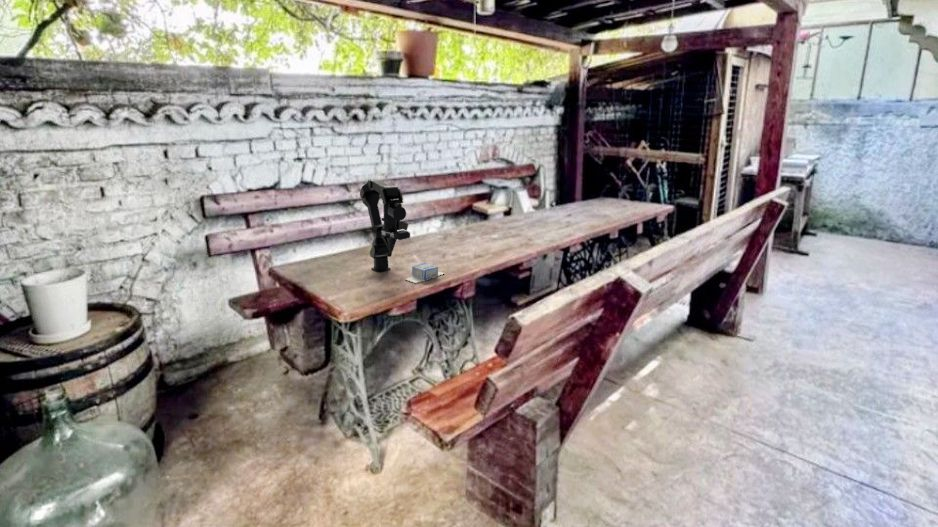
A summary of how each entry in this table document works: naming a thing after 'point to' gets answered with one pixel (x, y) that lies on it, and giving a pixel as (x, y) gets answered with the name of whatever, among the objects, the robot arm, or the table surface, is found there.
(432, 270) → the medicine box
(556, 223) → the table surface
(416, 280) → the white rectangular board
